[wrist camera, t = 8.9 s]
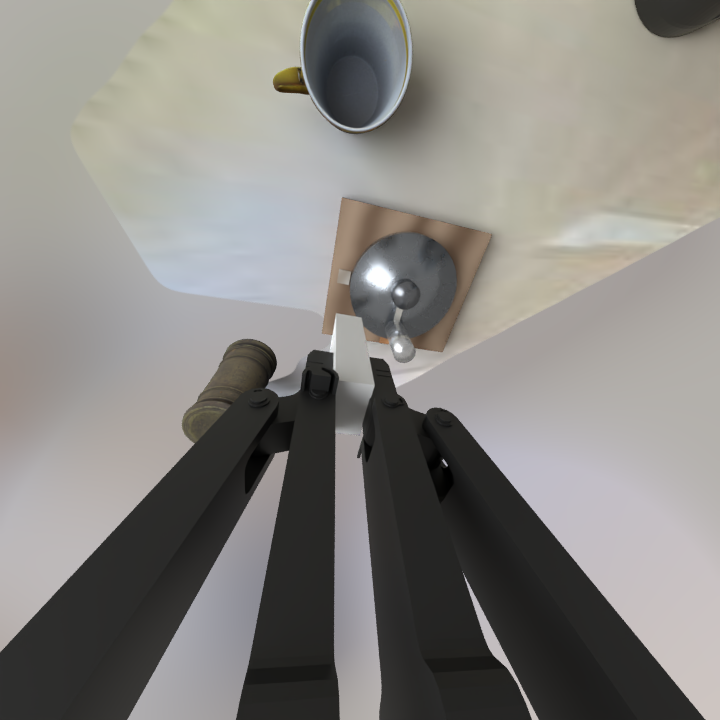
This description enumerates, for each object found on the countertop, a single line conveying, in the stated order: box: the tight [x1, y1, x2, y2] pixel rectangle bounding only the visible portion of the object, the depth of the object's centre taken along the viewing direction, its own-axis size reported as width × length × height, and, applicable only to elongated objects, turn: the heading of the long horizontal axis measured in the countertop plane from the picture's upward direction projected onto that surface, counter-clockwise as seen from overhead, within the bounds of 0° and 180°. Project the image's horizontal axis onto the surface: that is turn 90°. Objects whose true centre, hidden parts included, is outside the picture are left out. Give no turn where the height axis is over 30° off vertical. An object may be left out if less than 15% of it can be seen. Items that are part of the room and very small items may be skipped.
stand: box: [322, 198, 492, 352], centre depth 43 cm, size 22×20×3 cm
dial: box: [350, 232, 457, 363], centre depth 37 cm, size 16×16×10 cm
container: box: [182, 339, 277, 443], centre depth 42 cm, size 9×9×18 cm
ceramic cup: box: [273, 0, 413, 134], centre depth 28 cm, size 13×10×10 cm
